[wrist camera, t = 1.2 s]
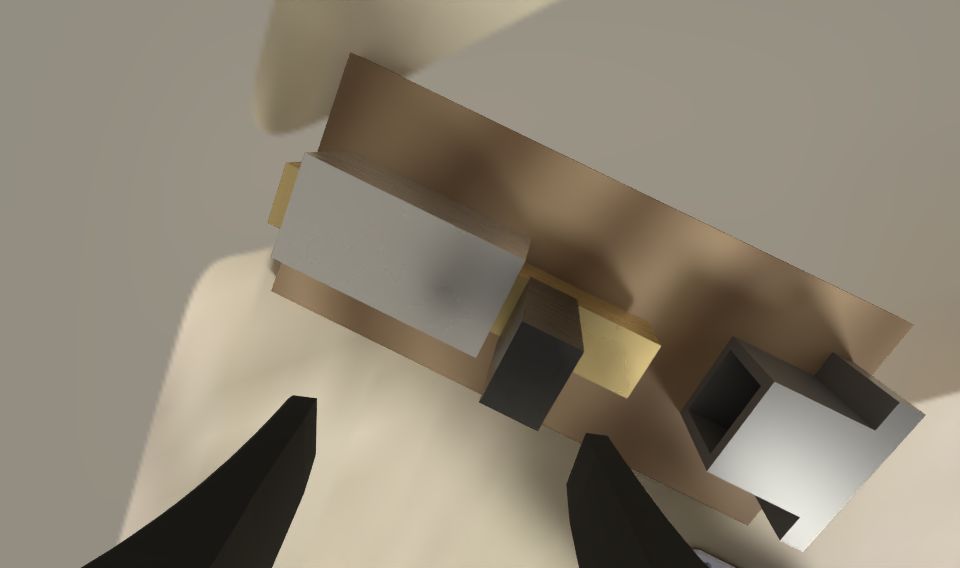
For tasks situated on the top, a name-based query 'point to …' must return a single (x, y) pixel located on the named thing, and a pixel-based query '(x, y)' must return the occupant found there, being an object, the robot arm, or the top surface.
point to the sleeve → (400, 247)
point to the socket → (794, 433)
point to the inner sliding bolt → (546, 338)
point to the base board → (595, 275)
